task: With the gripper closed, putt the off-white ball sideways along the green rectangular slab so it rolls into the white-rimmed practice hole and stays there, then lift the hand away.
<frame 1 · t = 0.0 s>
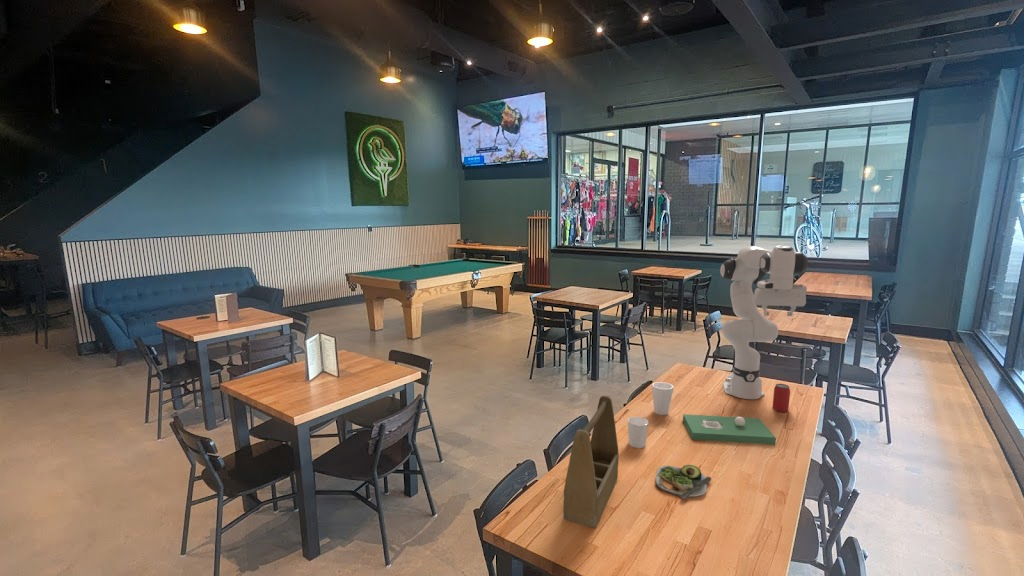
hand: (777, 315, 204), 48 cm above the table, fingers open, 8 cm apart
avocado toast plate: (681, 484, 163), on the table
ball: (739, 421, 199), point 5 cm above the table, touching green rectangular slab
foam cup: (661, 412, 221), on the table
green rectangular slab: (726, 431, 201), on the table
beer can: (780, 410, 223), on the table
white cup: (637, 444, 190), on the table
caddy: (592, 498, 155), on the table
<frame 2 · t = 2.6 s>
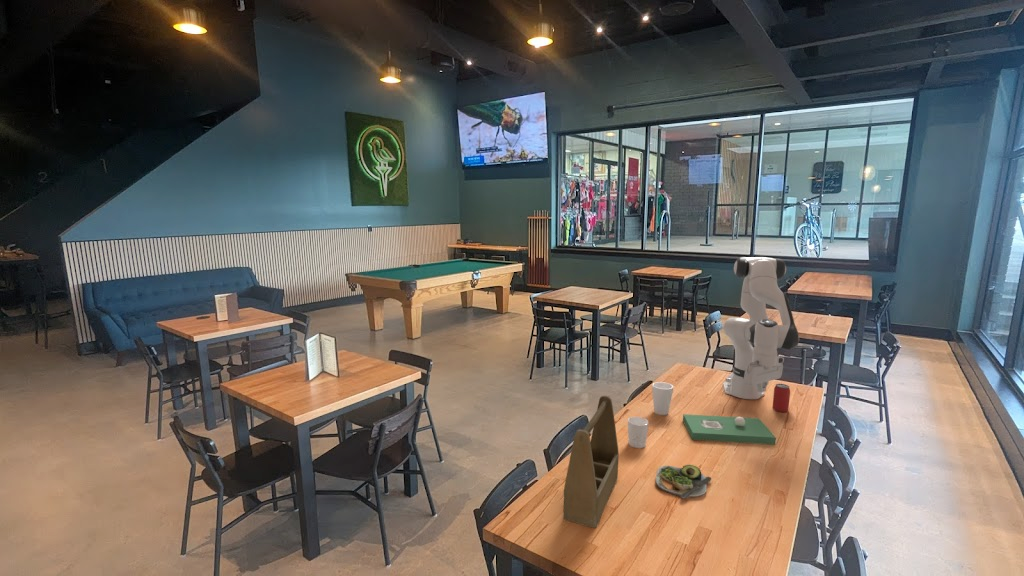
hand: (761, 391, 196), 19 cm above the table, fingers closed
nothing on the table moved.
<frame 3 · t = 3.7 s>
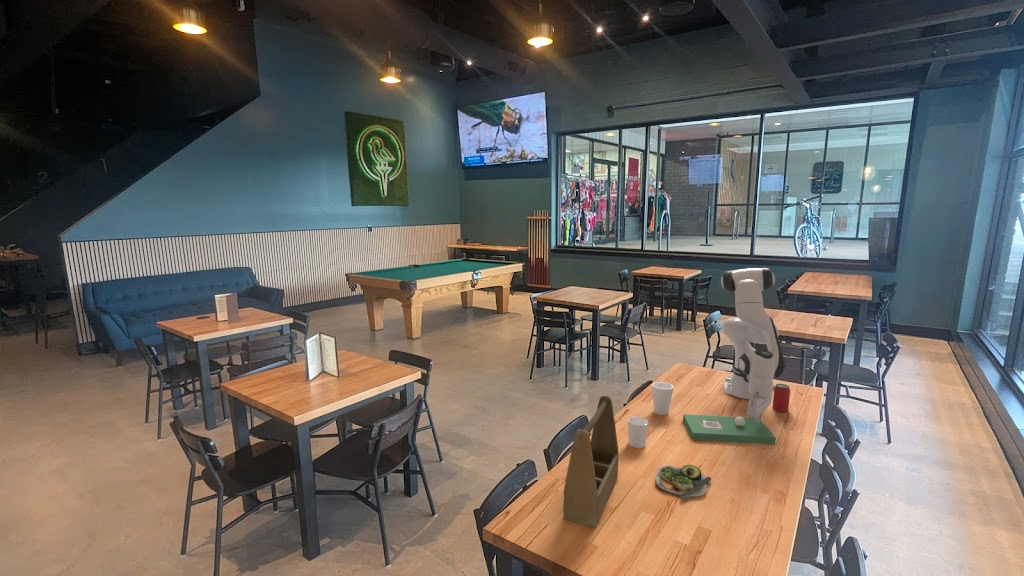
hand: (757, 421, 198), 6 cm above the table, fingers closed
nothing on the table moved.
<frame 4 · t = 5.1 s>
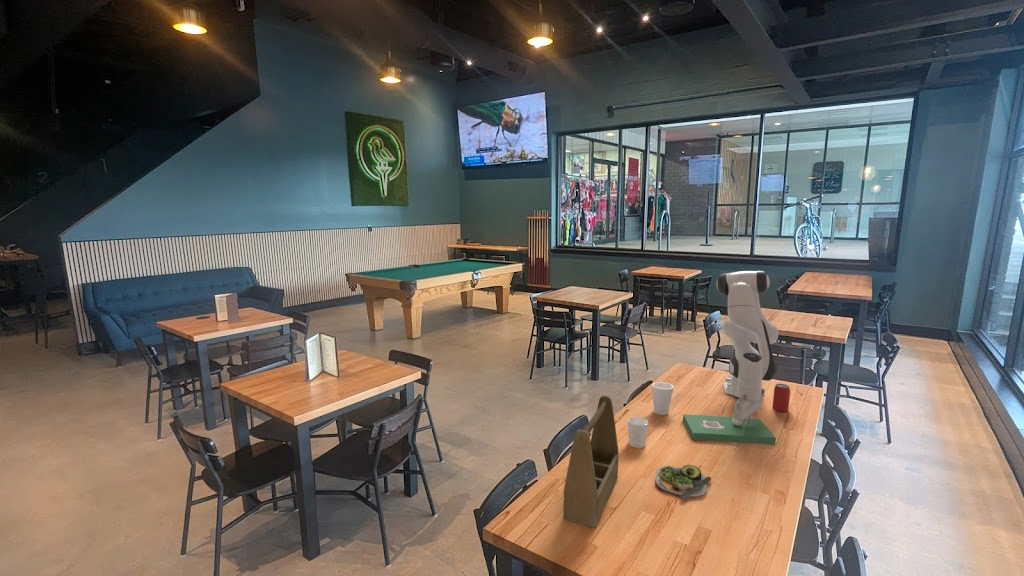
hand: (746, 423, 199), 4 cm above the table, fingers closed
ball: (737, 421, 200), point 5 cm above the table, tilted 27°, touching green rectangular slab
everything else where it was.
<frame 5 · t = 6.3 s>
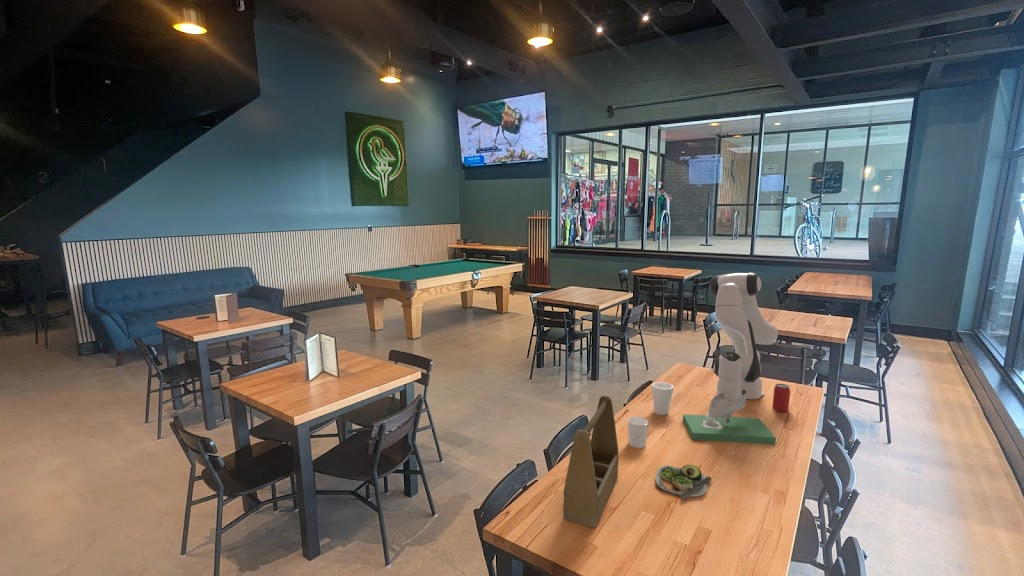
hand: (725, 422, 200), 4 cm above the table, fingers closed
ball: (710, 417, 203), point 5 cm above the table, tilted 35°, touching green rectangular slab
everything else where it was.
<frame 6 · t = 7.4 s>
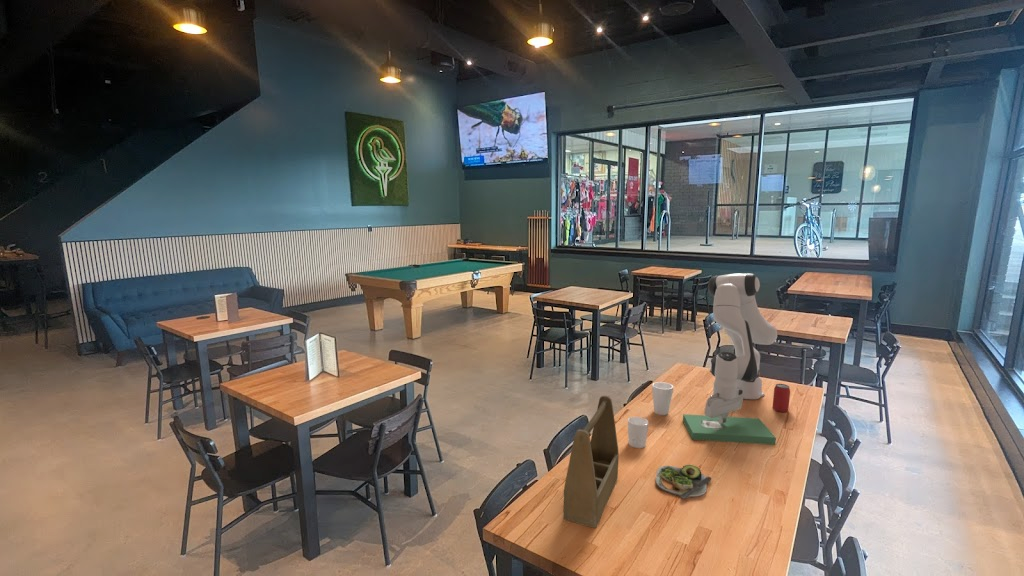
hand: (722, 422, 200), 4 cm above the table, fingers closed
ball: (713, 426, 201), point 2 cm above the table, tilted 38°
everything else where it was.
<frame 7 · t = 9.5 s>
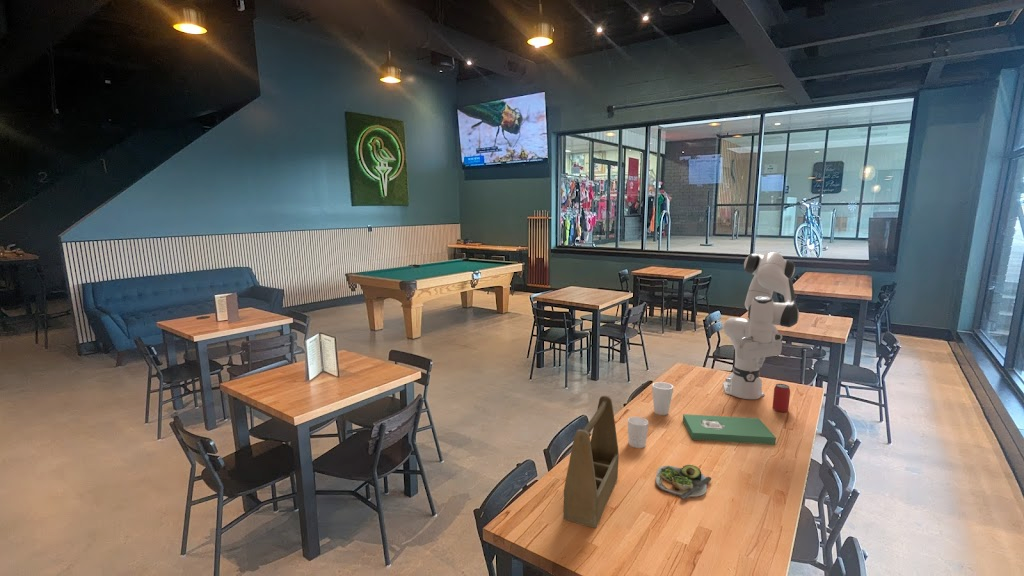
hand: (757, 367, 199), 28 cm above the table, fingers closed
nothing on the table moved.
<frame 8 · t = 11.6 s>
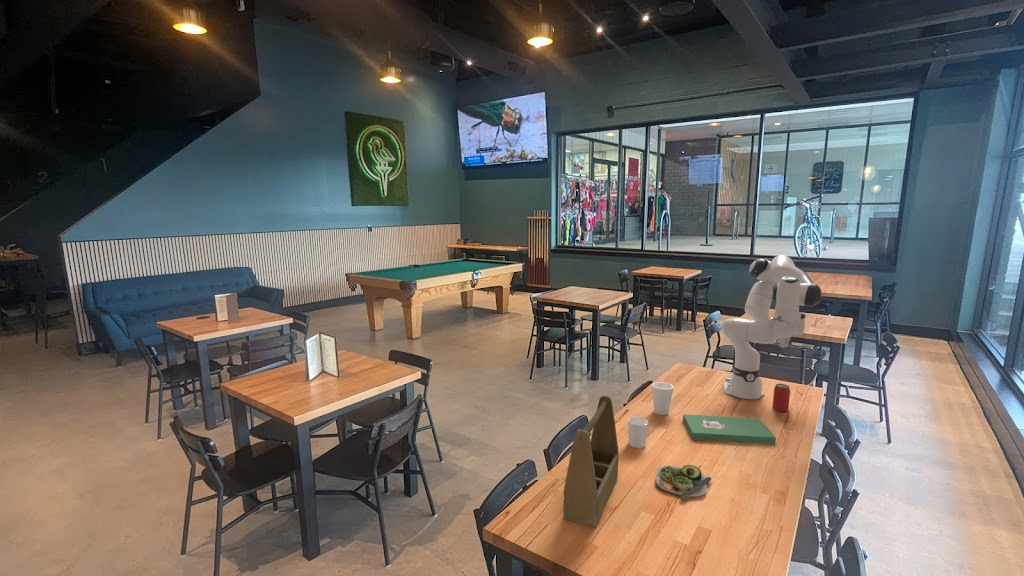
hand: (783, 346, 203), 35 cm above the table, fingers closed
nothing on the table moved.
at the end: ball 0.7 cm from the target spot on the green rectangular slab, point 2.0 cm above the green rectangular slab's base; the gripper is holding nothing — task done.
